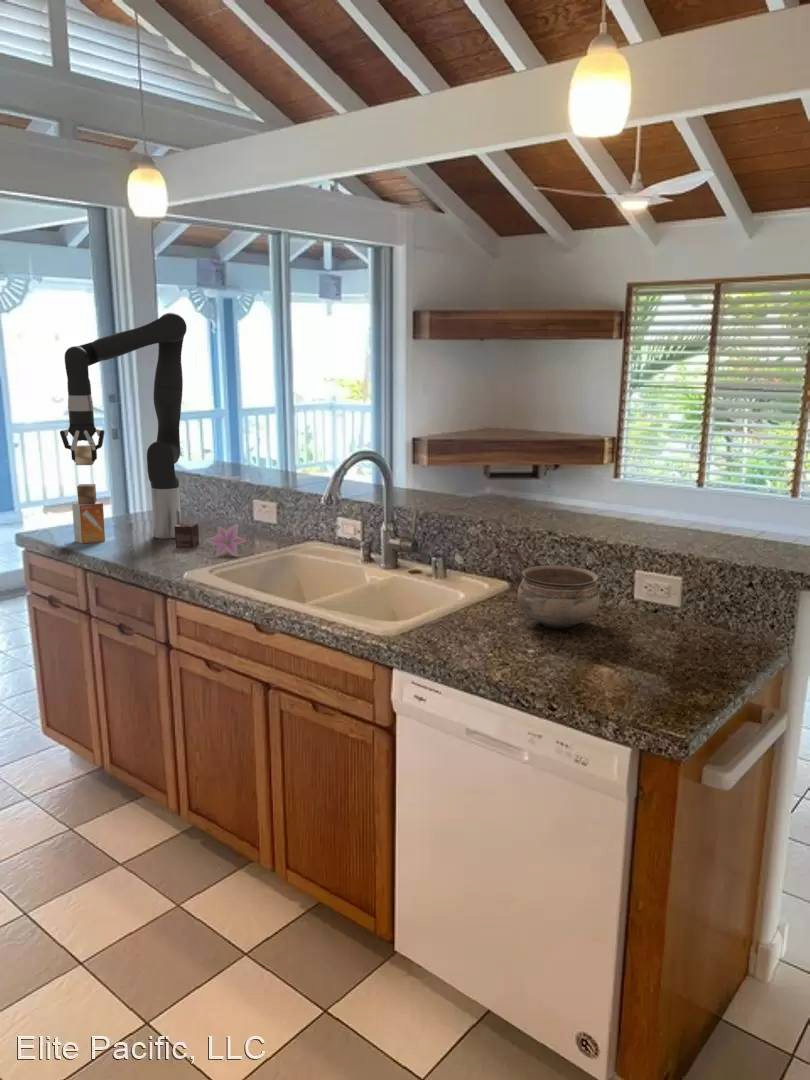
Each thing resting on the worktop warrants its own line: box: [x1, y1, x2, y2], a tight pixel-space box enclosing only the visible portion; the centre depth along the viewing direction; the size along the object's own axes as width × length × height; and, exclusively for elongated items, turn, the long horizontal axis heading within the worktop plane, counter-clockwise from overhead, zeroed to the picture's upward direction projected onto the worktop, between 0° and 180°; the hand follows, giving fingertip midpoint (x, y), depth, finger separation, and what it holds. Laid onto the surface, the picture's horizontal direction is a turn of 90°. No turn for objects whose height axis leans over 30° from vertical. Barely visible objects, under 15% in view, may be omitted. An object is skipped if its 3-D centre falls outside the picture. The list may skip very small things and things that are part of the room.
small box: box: [71, 501, 106, 545], centre depth 269 cm, size 8×6×13 cm
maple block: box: [74, 444, 95, 466], centre depth 265 cm, size 5×5×6 cm
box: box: [174, 522, 200, 549], centre depth 264 cm, size 6×6×7 cm
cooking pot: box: [517, 564, 601, 630], centre depth 188 cm, size 25×19×12 cm
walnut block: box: [76, 483, 98, 504], centre depth 267 cm, size 5×5×6 cm
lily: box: [206, 523, 247, 557], centre depth 255 cm, size 11×11×9 cm
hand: (84, 461), depth 265 cm, fingers closed on maple block, 5 cm apart
